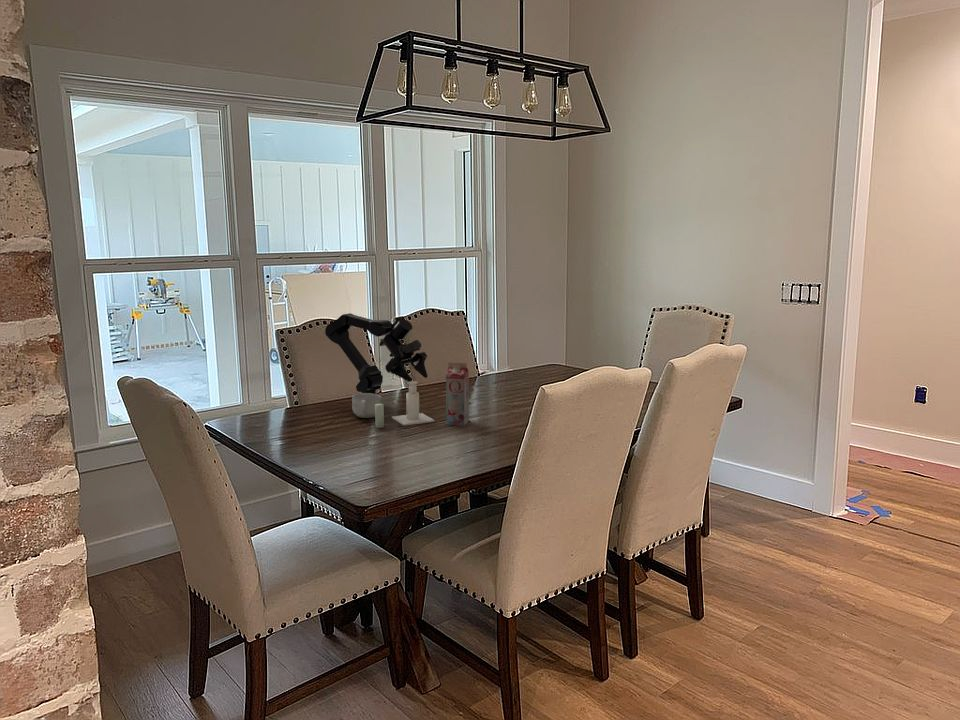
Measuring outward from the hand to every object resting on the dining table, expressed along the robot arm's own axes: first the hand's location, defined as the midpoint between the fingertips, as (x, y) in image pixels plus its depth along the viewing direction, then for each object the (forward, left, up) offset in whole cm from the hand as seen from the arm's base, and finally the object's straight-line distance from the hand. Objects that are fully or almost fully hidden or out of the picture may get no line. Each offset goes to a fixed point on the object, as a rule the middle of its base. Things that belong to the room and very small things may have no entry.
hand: (419, 379), depth 284 cm
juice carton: (+17, +8, -14) cm, 23 cm away
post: (+10, -19, -14) cm, 25 cm away
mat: (+6, -5, -14) cm, 16 cm away
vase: (+6, -5, -13) cm, 15 cm away
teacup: (-6, -19, -14) cm, 24 cm away
